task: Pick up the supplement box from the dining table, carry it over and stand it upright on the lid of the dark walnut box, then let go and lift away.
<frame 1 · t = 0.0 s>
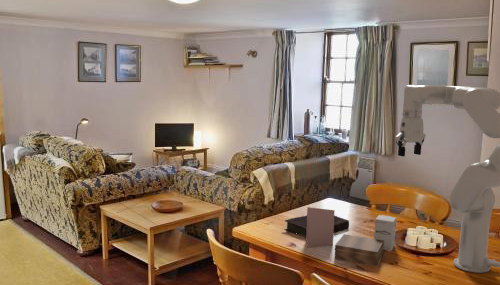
hand: (409, 155, 202), 37 cm above the table, tool pointing down, fingers open, 9 cm apart
supplement box: (384, 247, 198), on the table
walnut box: (359, 257, 187), on the table
greeting card: (317, 245, 198), on the table
diary: (316, 230, 219), on the table
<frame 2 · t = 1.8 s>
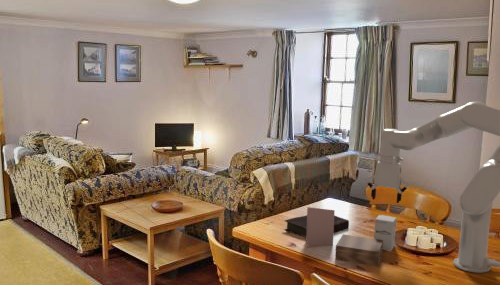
hand: (385, 200, 195), 20 cm above the table, tool pointing down, fingers open, 9 cm apart
nothing on the table moved.
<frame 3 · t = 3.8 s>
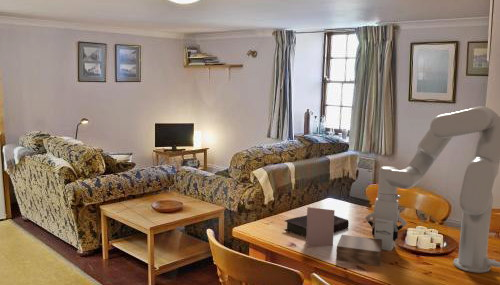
hand: (384, 238, 197), 4 cm above the table, tool pointing down, fingers closed on supplement box, 7 cm apart
supplement box: (384, 247, 198), on the table, touching gripper
everything else where it was.
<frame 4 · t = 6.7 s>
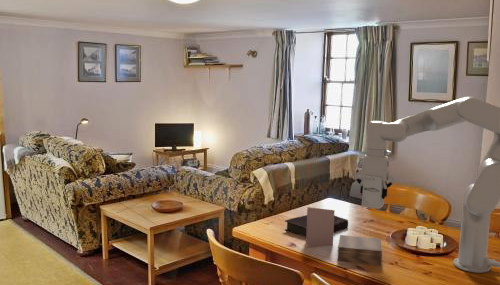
hand: (373, 196, 188), 23 cm above the table, tool pointing down, fingers closed on supplement box, 7 cm apart
supplement box: (372, 206, 189), point 19 cm above the table, touching gripper
when the fingers open (11 cm above the table, at t = 9.9 s): supplement box drops 2 cm, resting on walnut box.
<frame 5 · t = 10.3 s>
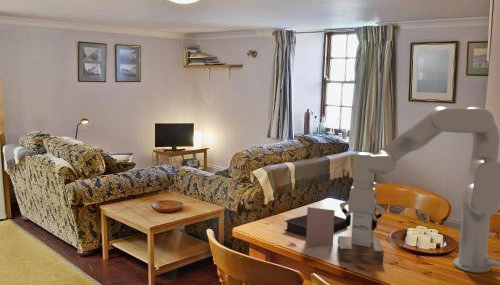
hand: (361, 227, 185), 12 cm above the table, tool pointing down, fingers open, 9 cm apart
supplement box: (362, 243, 186), point 5 cm above the table, touching walnut box
walnut box: (359, 257, 187), on the table, touching supplement box
everything else where it was.
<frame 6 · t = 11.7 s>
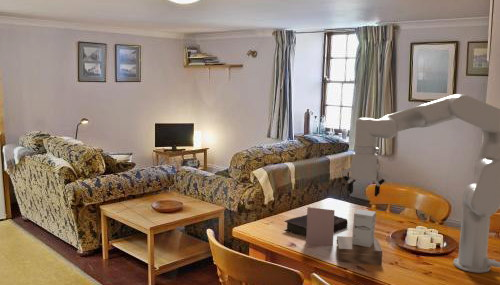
hand: (363, 194, 183), 25 cm above the table, tool pointing down, fingers open, 9 cm apart
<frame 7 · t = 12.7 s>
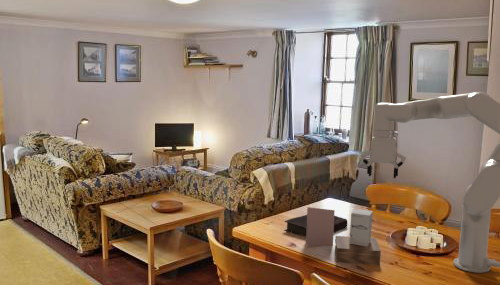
hand: (382, 176, 190), 30 cm above the table, tool pointing down, fingers open, 9 cm apart
supplement box: (359, 243, 186), point 5 cm above the table, touching walnut box
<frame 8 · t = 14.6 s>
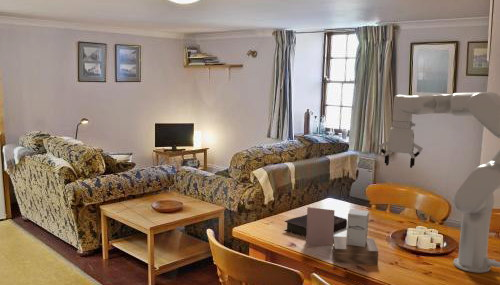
hand: (399, 166, 198), 33 cm above the table, tool pointing down, fingers open, 9 cm apart
supplement box: (356, 243, 186), point 5 cm above the table, touching walnut box
at the end: supplement box inside the target area on the walnut box (0.8 cm from its centre), point 5.8 cm above the walnut box's base; supplement box tilted 0°; the gripper is holding nothing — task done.
